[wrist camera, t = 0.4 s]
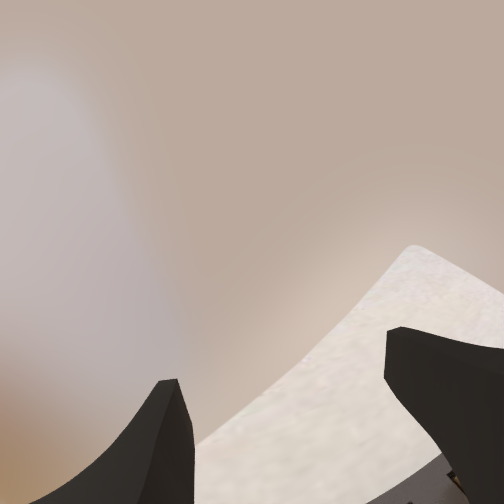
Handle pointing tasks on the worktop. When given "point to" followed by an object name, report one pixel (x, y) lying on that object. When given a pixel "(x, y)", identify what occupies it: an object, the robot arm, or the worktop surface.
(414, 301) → the worktop surface
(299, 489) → the worktop surface
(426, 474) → the rail
